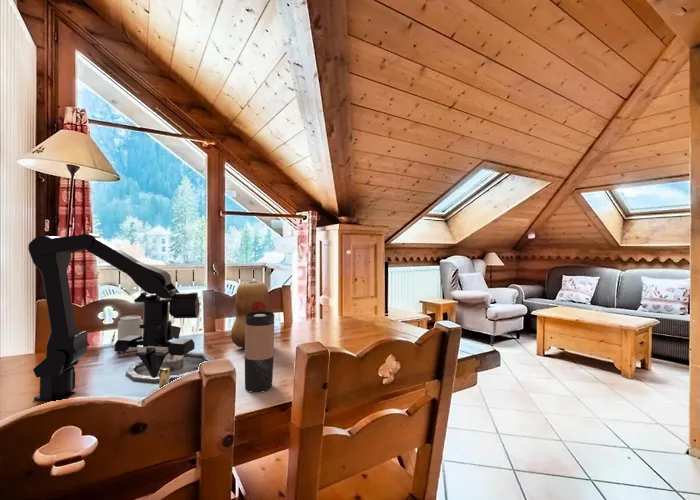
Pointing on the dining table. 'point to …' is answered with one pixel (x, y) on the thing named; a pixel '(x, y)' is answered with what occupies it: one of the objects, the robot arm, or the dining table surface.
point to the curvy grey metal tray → (167, 369)
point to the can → (130, 328)
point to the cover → (173, 362)
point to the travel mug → (259, 351)
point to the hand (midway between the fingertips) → (154, 377)
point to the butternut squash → (248, 307)
